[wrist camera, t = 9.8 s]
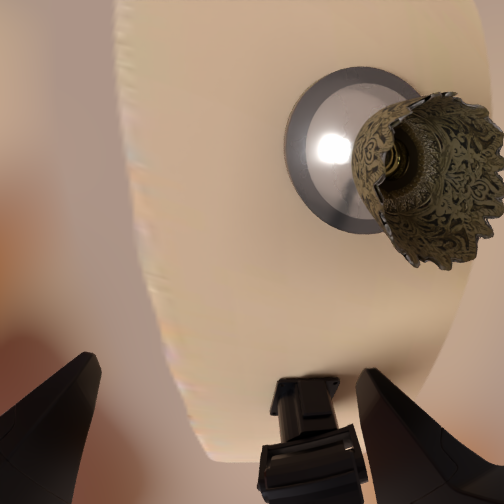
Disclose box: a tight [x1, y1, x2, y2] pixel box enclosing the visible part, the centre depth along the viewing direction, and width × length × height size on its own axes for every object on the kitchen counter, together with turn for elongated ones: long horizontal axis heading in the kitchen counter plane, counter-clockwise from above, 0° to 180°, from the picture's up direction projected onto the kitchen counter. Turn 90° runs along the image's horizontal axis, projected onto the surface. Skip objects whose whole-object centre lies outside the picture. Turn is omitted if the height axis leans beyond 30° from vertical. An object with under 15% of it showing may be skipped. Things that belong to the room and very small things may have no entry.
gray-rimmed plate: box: [284, 67, 421, 234], centre depth 16 cm, size 11×11×1 cm
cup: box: [351, 92, 504, 271], centre depth 12 cm, size 8×7×8 cm
